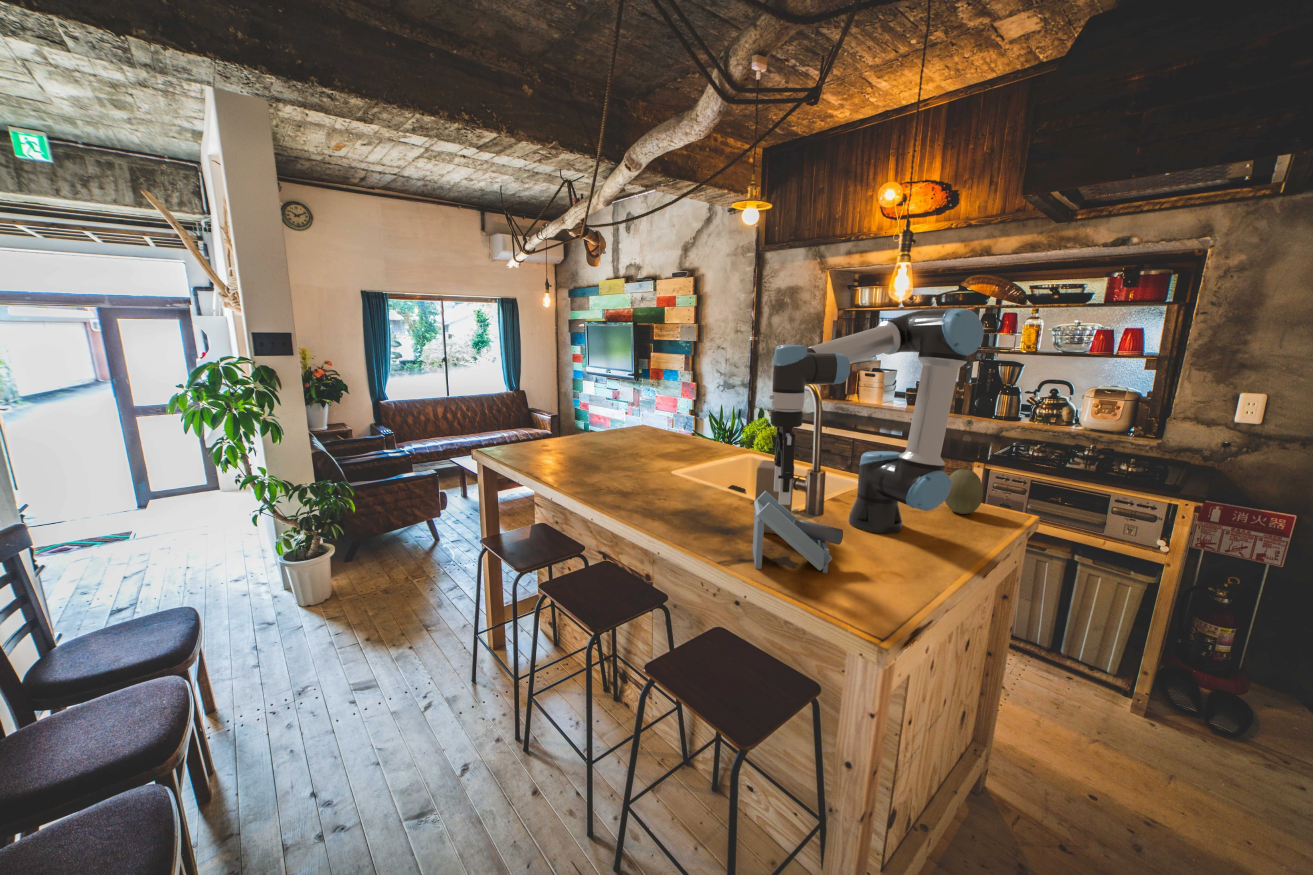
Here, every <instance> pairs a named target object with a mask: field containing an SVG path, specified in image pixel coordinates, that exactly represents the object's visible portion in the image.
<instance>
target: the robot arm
mask: <svg viewBox="0 0 1313 875" xmlns="http://www.w3.org/2000/svg"><path fill="white" fill-rule="evenodd" d="M983 340H984V325H983V322H982V320H980V317H979V315H977V313H976V312H974V311H972V310H970V309H966V308H953V307H951V308H944V309H943V308H941V309H929V310H928V309H924V310H916V311H912V312H909V313H906V314H903V315H899V316H897V317H894V318H891V319H888V320H887V319H886V320H885V321H881V322H880V323H879V324H878V325H877V326H876V327H874V328H870V329H866V330H863V331H860V332H856V333H853V334H849V335H846V336H842V337H838V338H835V339H833V340H828V341H825V342H821V343H818V344H815V345H811V346H808V347H807V346H806V345H803V344H799V345H798V344H781V345H777V346H776V347H775V350H774V356H773V362H772V366H773V371H772V373H773V374H772V389H771V390H772V395H769V397H768V398H769V400H771V407H772V408H773V409H771V411H770V424H771V426H774V427H776V432H775V434H776V436H775V438H776V443H775V451H774V458H773V461H775V466H777V467H775V476H774V491H778V492H779V501H778V504H783V505H790V500H791V485H792V479H793V478H794V477H795V464H794V463H795V443H796V442H795V440H796V436H795V433H794V432H793V428H799V427H802V425H803V419H804V418H803V416H804V415H803V414H804V412H803V411H802V410H803V409H804V404H805V389H806V388H805V387H806V385H831V386H833V385H837V384H843V383H845V382H846V381H847V380H848V378H849V376H850V374H851V364H853V363H855V362H859V361H862V360H865V359H868V358H871V357H872V358H873V357H875V356H878V355H882V354H885V355H890V356H891V355H894V354H898V353H918V356H917V359H918V360H919V362H920V364H922V368H921V373H920V377H919V378H920V379H919V383H918V387H917V394H916V398H915V404H914V408H913V413H912V419H911V424H910V428H909V432H908V433H909V434H908V439H907V443H906V448H905V451H904V452H898V451H890V450H888V451H886V450H877V451H875V450H874V451H866V452H864V453H862V454H861V457H860V461H859V466H858V479H857V495H856V500H855V501H854V503H853V506H852V508H851V510H850V512H849V517H848V523H849V524H850V525H851V526H853V527H854V528H857V529H859V530H862V531H866V532H869V533H874V534H875V533H877V534H895V533H898V532H901V530H902V528H903V520H902V519H903V518H902V515H901V511H900V507H899V503H900V504H901V503H902V504H904V505H906V506H908V507H910V508H911V509H917V510H920V511H924V512H925V511H933V510H934V509H937V508H938V507H939V506H941V505H942V504H943V503H944V502H945V500H946V498H947V497H948V495H949V492H950V489H951V480H949V479H950V478H949V476H950V475H948V474H947V472H945V467H946V463H945V461H944V460H943V459H942V455H941V454H942V450H943V445H944V440H945V436H946V430H947V426H948V420H949V416H950V413H951V408H952V403H953V397H954V393H955V387H956V383H957V378H958V373H959V370H960V368H961V367H963V366H964V365H966V364H967V363H968V359H969V356H970V355H972V354H974V353H976V352H977V351H978V349H979V348H980V347H981V346H982V343H983ZM786 472H788V473H786ZM794 479H795V478H794Z"/></svg>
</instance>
